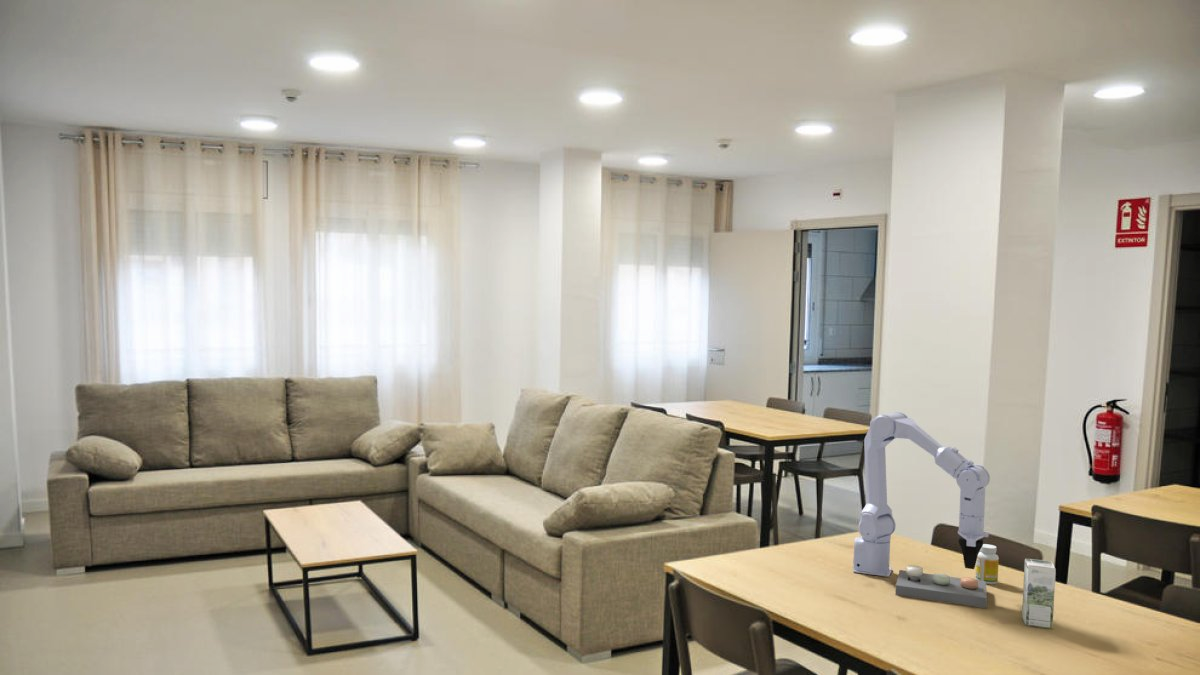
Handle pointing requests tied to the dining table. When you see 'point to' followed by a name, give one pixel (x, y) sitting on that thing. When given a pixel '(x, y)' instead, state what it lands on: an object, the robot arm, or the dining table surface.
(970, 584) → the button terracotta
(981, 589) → the panel
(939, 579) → the button sage
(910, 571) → the button cream
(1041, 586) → the syrup box
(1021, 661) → the dining table surface
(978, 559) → the supplement bottle
